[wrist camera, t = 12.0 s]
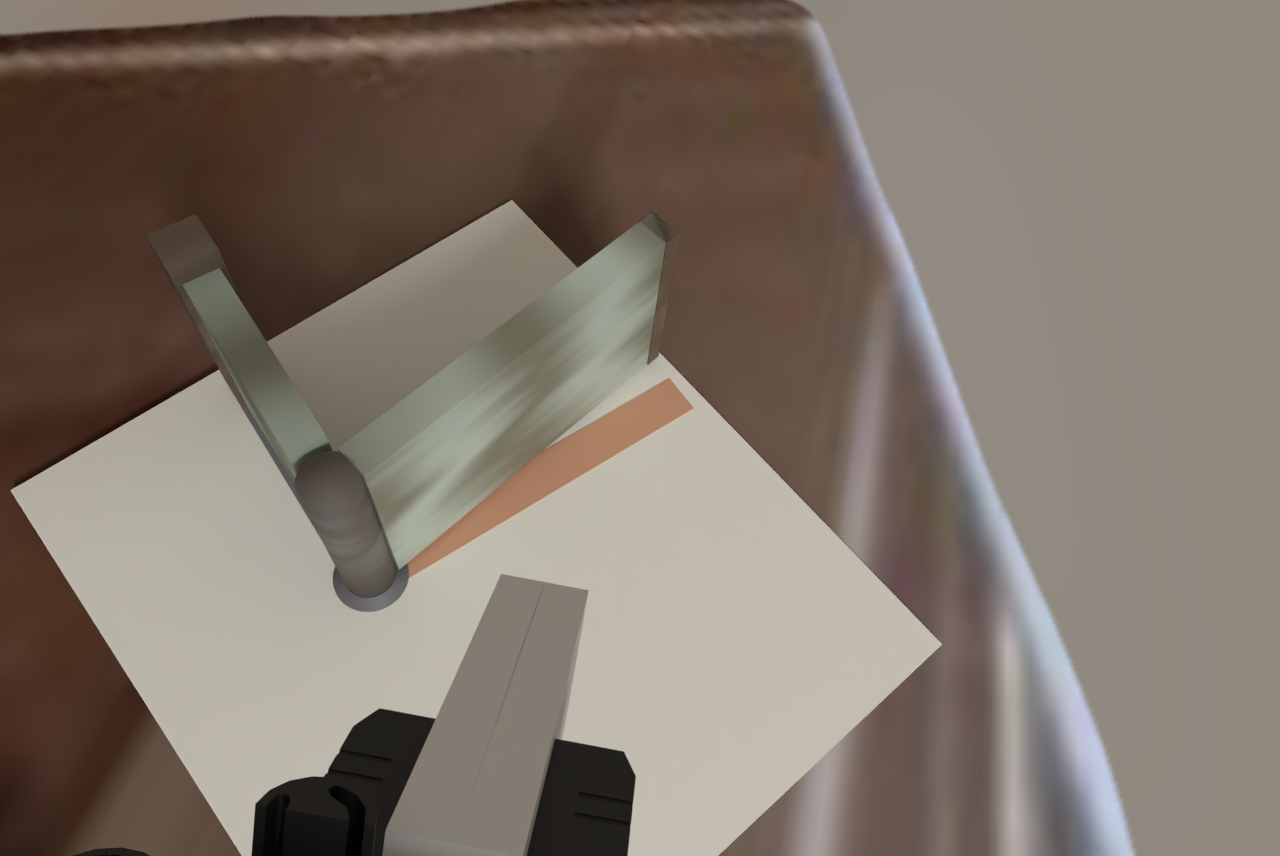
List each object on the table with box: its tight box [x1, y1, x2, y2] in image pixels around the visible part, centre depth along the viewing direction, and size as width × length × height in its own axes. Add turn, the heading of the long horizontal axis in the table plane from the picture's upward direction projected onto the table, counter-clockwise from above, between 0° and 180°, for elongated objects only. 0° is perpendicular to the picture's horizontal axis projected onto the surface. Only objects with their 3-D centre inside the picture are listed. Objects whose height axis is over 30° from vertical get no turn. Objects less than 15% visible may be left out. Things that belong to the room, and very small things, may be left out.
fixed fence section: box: [146, 214, 332, 484], centre depth 34 cm, size 9×2×9 cm, turn 35°
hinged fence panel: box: [295, 211, 679, 598], centre depth 35 cm, size 15×2×8 cm, turn 135°
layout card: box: [10, 200, 942, 856], centre depth 36 cm, size 25×22×1 cm
